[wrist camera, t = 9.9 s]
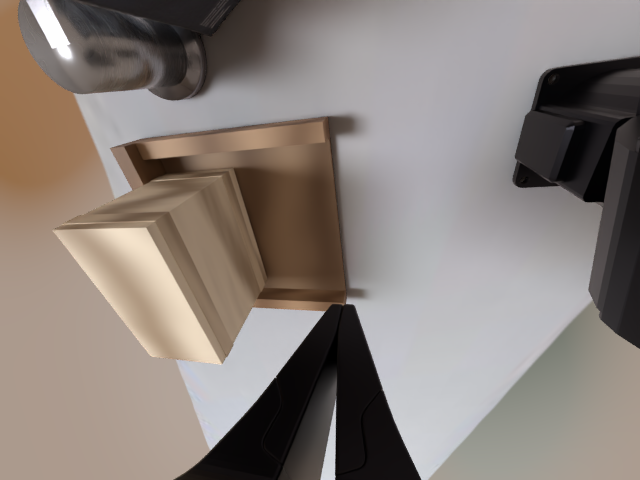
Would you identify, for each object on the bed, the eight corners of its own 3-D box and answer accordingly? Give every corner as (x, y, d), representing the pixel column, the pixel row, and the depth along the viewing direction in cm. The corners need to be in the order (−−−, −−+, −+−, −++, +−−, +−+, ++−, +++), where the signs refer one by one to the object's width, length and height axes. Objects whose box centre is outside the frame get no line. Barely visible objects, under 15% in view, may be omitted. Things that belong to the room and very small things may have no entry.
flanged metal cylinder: (167, -76, 14) (-85, -249, 6) (217, 94, 18) (102, 111, 10) (90, -50, 15) (-198, -169, 7) (154, 103, 19) (9, 125, 11)
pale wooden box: (233, 167, 20) (146, 226, 12) (268, 279, 25) (223, 364, 18) (166, 173, 21) (51, 229, 14) (213, 277, 27) (150, 356, 19)
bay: (327, 116, 17) (319, 124, 15) (346, 296, 26) (343, 320, 23) (142, 138, 21) (109, 148, 18) (213, 291, 29) (198, 312, 27)
